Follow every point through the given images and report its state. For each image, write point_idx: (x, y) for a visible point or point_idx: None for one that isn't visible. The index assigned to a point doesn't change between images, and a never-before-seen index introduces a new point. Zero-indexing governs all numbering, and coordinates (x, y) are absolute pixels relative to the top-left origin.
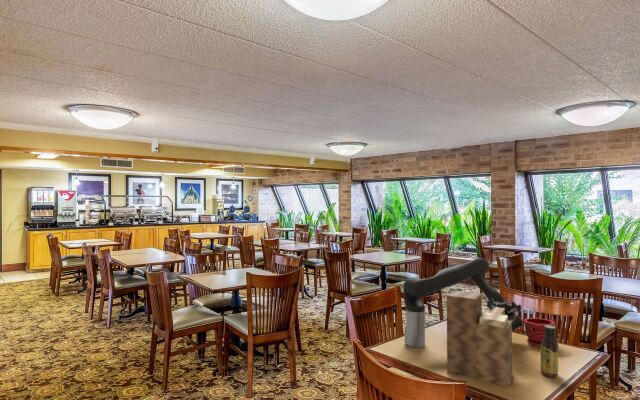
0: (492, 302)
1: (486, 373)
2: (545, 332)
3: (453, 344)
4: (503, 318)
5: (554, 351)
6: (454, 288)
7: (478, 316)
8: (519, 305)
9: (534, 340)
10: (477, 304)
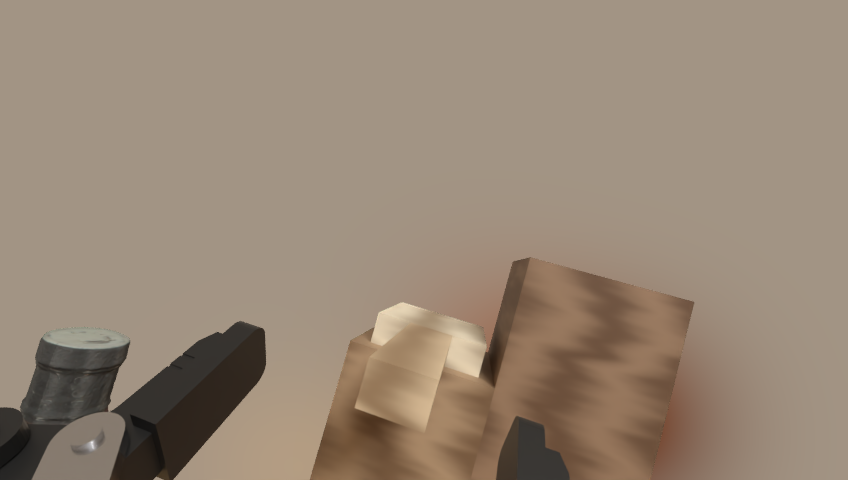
0: (503, 450)
1: None
2: (114, 378)
3: None
4: (401, 308)
5: None
6: None
7: (495, 344)
8: (16, 420)
9: None
10: (508, 288)
